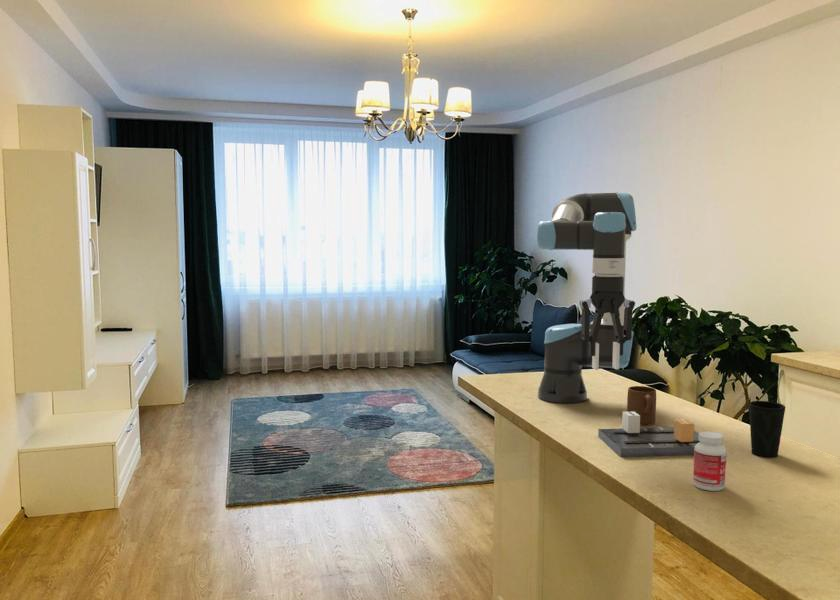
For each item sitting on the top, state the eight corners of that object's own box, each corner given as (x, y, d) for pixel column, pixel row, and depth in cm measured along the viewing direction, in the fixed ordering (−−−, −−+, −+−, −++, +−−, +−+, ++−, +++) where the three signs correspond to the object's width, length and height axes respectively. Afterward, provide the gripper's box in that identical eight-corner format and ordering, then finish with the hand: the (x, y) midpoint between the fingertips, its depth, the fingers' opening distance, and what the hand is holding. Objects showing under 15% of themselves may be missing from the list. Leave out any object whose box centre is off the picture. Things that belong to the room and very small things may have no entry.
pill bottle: (725, 493, 140) (727, 440, 138) (692, 489, 142) (695, 437, 141) (724, 483, 145) (726, 432, 144) (692, 479, 148) (694, 429, 146)
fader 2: (673, 437, 169) (674, 419, 168) (685, 436, 169) (686, 418, 168) (681, 442, 165) (681, 423, 164) (693, 441, 165) (693, 423, 165)
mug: (664, 430, 183) (666, 396, 182) (636, 430, 183) (637, 396, 182) (650, 418, 195) (651, 385, 194) (623, 418, 195) (624, 385, 194)
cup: (739, 451, 166) (741, 402, 165) (762, 447, 169) (764, 399, 168) (766, 461, 159) (769, 410, 158) (790, 456, 162) (793, 407, 161)
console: (598, 436, 178) (598, 427, 178) (688, 434, 180) (688, 426, 179) (620, 456, 162) (620, 447, 162) (719, 454, 164) (719, 445, 163)
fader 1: (622, 428, 176) (622, 411, 176) (633, 428, 176) (634, 410, 176) (627, 433, 172) (628, 415, 172) (639, 432, 172) (640, 415, 172)
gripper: (577, 276, 165) (575, 372, 168) (648, 276, 166) (645, 371, 169) (568, 274, 173) (566, 366, 175) (637, 274, 174) (634, 365, 176)
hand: (605, 368), depth 172 cm, fingers open, 4 cm apart
